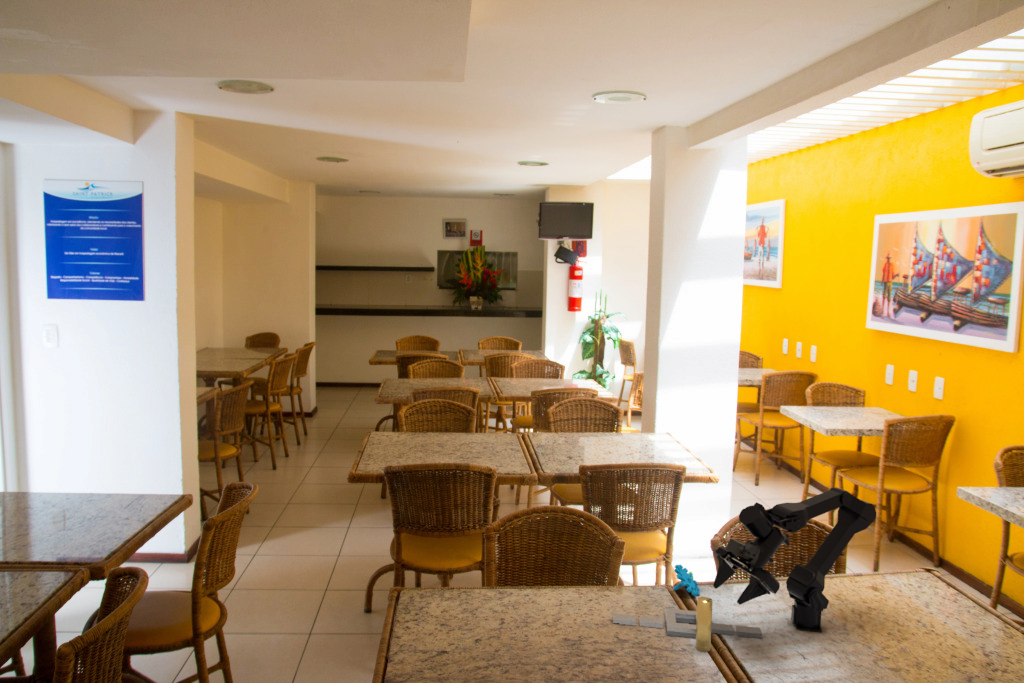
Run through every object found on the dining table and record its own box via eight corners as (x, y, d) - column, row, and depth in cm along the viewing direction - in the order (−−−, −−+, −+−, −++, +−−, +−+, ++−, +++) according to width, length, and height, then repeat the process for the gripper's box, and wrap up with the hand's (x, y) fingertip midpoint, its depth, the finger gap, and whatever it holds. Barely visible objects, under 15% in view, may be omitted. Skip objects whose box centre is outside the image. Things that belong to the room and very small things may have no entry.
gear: (697, 597, 199) (674, 567, 202) (681, 608, 200) (659, 578, 204) (705, 587, 208) (683, 558, 212) (690, 598, 210) (669, 569, 214)
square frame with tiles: (757, 625, 186) (758, 617, 186) (764, 645, 176) (765, 636, 176) (613, 611, 193) (613, 603, 192) (612, 629, 183) (612, 620, 183)
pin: (709, 645, 176) (711, 597, 175) (711, 652, 173) (713, 603, 171) (694, 643, 177) (696, 596, 175) (696, 651, 173) (698, 602, 172)
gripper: (722, 516, 185) (685, 562, 182) (773, 541, 167) (733, 592, 164) (745, 541, 188) (709, 586, 185) (796, 568, 171) (758, 619, 168)
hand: (726, 595), depth 176 cm, fingers open, 9 cm apart
